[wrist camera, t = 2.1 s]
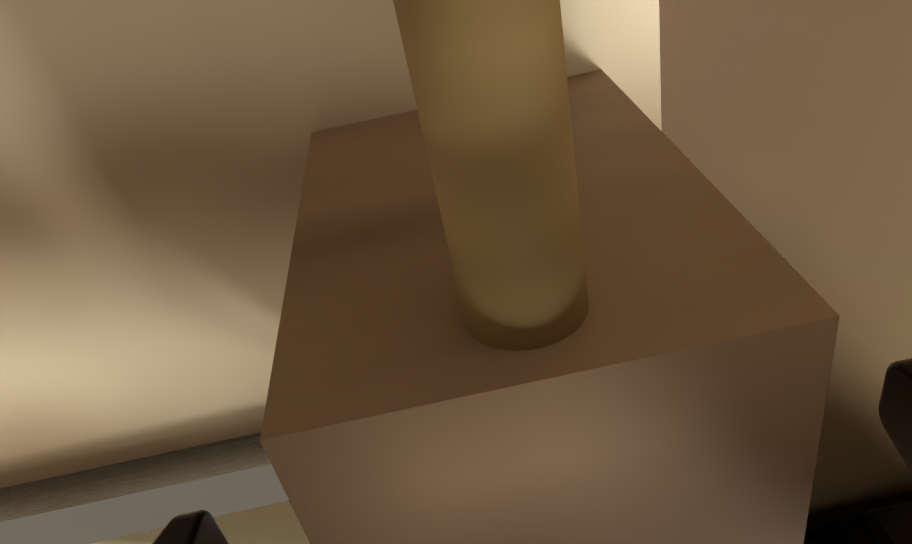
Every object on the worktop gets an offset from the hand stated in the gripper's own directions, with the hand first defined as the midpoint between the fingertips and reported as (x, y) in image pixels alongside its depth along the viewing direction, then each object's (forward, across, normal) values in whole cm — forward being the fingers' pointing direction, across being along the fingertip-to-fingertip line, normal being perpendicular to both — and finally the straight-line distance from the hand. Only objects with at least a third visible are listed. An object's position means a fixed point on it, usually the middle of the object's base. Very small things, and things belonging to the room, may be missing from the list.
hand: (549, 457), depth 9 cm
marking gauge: (+5, 0, -2) cm, 6 cm away
